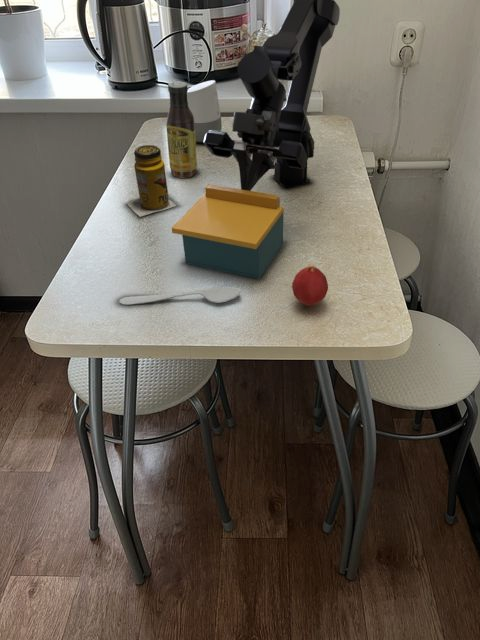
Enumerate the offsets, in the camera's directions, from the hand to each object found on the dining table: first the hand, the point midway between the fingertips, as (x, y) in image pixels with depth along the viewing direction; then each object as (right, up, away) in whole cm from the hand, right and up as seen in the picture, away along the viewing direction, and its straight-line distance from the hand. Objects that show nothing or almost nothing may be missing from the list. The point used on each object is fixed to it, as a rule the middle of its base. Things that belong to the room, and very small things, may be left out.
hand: (244, 194), depth 106 cm
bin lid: (-3, -6, -4) cm, 7 cm away
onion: (+11, -21, -9) cm, 26 cm away
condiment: (-20, +2, +18) cm, 27 cm away
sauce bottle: (-15, +12, +29) cm, 35 cm away
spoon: (-11, -20, -8) cm, 24 cm away
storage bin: (-2, -10, +3) cm, 11 cm away
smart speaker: (-12, +26, +44) cm, 53 cm away
